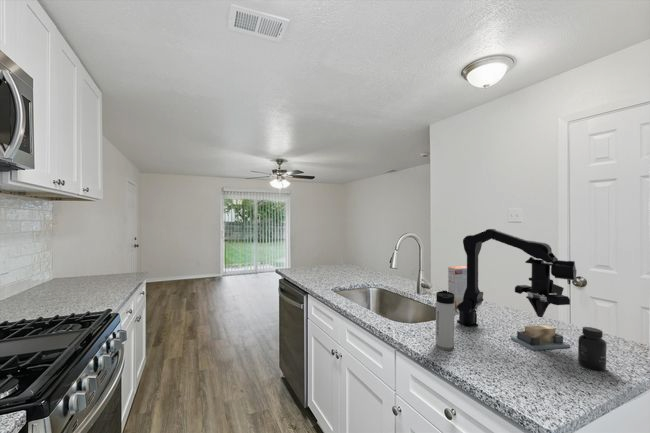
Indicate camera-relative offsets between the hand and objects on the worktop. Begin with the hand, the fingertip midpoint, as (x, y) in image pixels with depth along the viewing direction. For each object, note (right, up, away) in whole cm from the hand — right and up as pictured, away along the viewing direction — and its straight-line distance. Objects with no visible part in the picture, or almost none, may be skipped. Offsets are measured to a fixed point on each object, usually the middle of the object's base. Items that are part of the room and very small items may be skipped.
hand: (540, 316), depth 114 cm
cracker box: (-8, -10, +47) cm, 49 cm away
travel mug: (-38, -10, -4) cm, 39 cm away
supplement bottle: (+4, -10, -18) cm, 21 cm away
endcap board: (0, -10, 0) cm, 10 cm away
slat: (0, -9, 0) cm, 9 cm away
